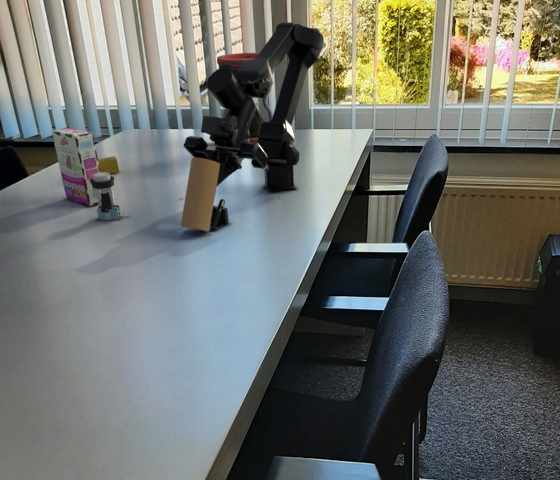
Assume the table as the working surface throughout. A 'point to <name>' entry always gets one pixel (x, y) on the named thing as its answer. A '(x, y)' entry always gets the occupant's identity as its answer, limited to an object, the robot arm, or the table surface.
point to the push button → (105, 196)
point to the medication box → (108, 165)
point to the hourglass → (256, 122)
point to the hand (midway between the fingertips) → (211, 187)
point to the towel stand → (219, 216)
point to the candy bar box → (77, 163)
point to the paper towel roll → (200, 194)
